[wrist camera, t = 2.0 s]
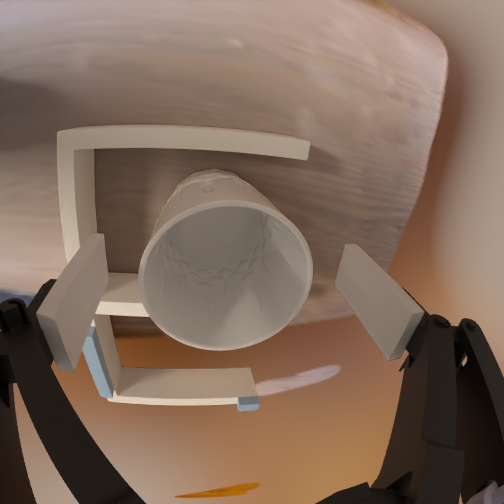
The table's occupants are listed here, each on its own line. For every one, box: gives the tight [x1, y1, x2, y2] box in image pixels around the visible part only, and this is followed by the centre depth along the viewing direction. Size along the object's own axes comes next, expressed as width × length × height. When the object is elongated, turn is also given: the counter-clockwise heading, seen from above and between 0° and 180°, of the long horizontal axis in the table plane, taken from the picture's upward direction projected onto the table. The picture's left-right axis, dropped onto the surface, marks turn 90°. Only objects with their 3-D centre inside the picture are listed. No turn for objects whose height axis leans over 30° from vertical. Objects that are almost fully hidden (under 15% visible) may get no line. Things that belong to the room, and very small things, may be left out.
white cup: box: [138, 168, 313, 350], centre depth 17 cm, size 8×8×10 cm
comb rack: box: [57, 125, 310, 411], centre depth 21 cm, size 15×25×5 cm, turn 172°
